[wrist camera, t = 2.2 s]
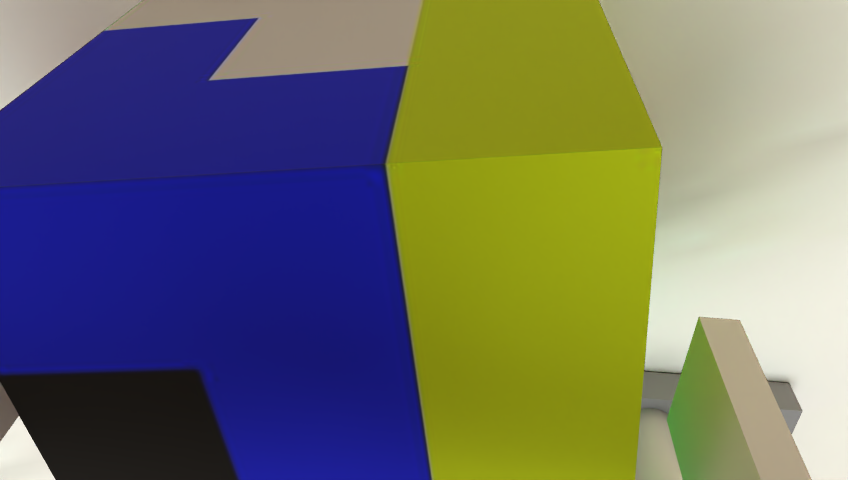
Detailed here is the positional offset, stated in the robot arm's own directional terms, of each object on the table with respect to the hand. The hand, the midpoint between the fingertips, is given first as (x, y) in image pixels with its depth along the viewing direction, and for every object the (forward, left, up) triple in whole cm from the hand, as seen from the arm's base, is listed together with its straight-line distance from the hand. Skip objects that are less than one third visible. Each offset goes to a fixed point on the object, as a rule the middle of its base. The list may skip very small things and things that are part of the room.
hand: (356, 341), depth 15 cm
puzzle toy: (0, 0, -7) cm, 7 cm away
